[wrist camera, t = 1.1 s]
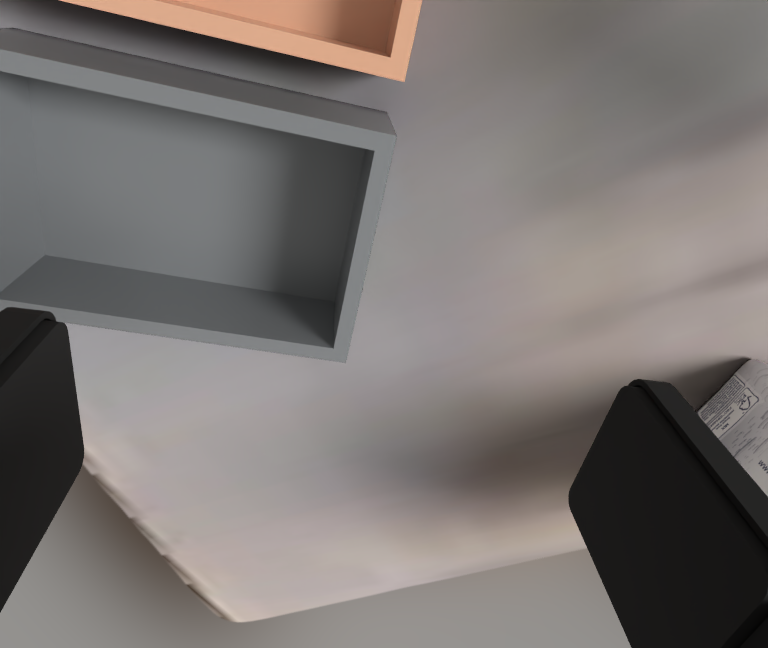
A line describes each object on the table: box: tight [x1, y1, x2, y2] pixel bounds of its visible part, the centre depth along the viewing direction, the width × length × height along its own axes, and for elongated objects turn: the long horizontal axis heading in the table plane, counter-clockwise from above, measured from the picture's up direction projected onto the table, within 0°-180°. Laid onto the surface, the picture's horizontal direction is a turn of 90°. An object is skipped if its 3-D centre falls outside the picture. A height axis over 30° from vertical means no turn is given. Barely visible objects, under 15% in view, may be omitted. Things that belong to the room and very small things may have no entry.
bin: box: [0, 28, 397, 363], centre depth 27 cm, size 12×18×6 cm, turn 78°
